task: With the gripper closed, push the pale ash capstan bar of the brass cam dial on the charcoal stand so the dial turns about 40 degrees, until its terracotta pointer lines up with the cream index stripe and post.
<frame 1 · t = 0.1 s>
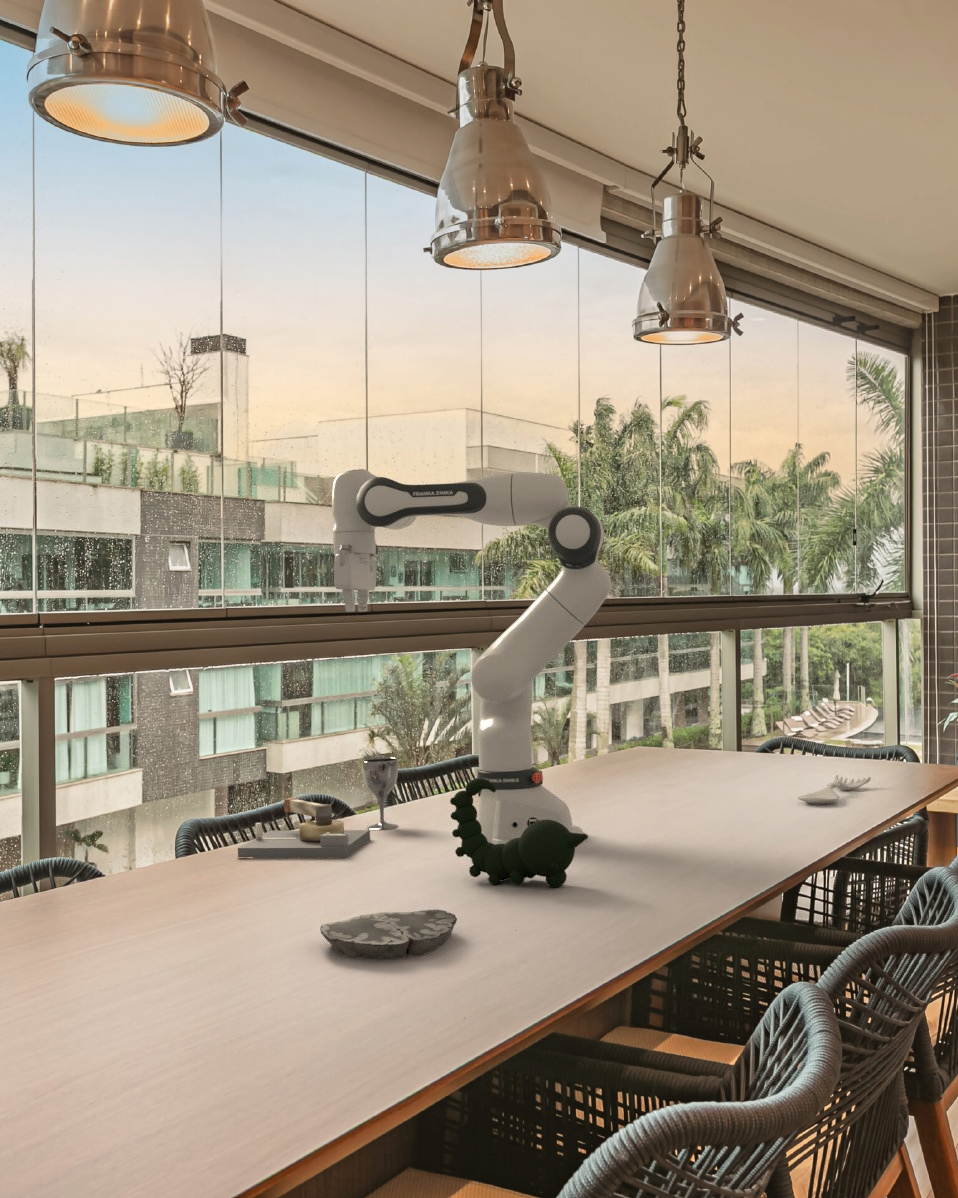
hand: (356, 611, 240), 48 cm above the table, fingers open, 8 cm apart
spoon: (833, 798, 269), on the table
toy figurine: (521, 884, 193), on the table
wine glass: (382, 828, 251), on the table
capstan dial: (310, 818, 233), point 6 cm above the table, hinge at -40.0°
brain slice: (394, 949, 159), on the table
stand: (306, 848, 230), on the table
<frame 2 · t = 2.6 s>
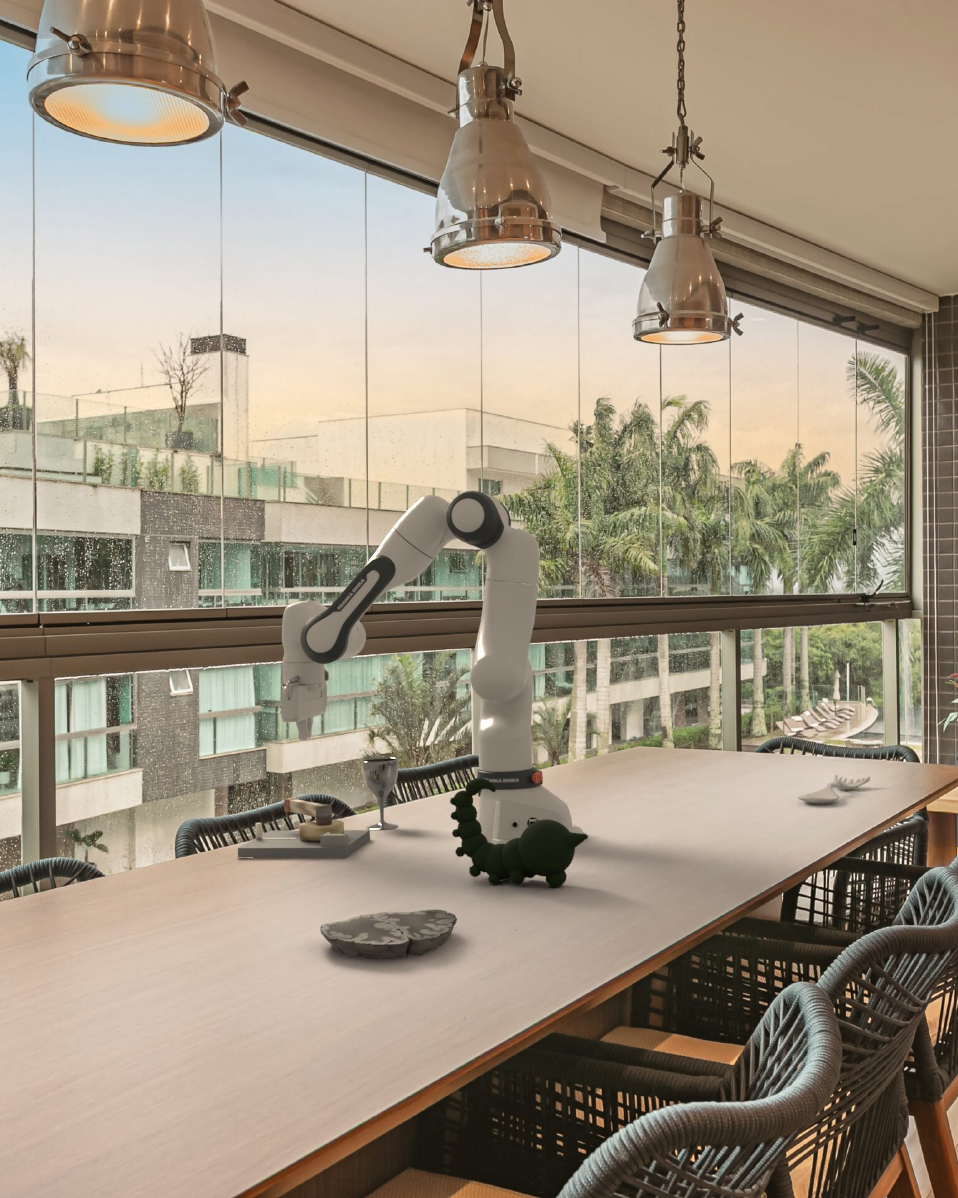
hand: (305, 739, 245), 21 cm above the table, fingers closed
nothing on the table moved.
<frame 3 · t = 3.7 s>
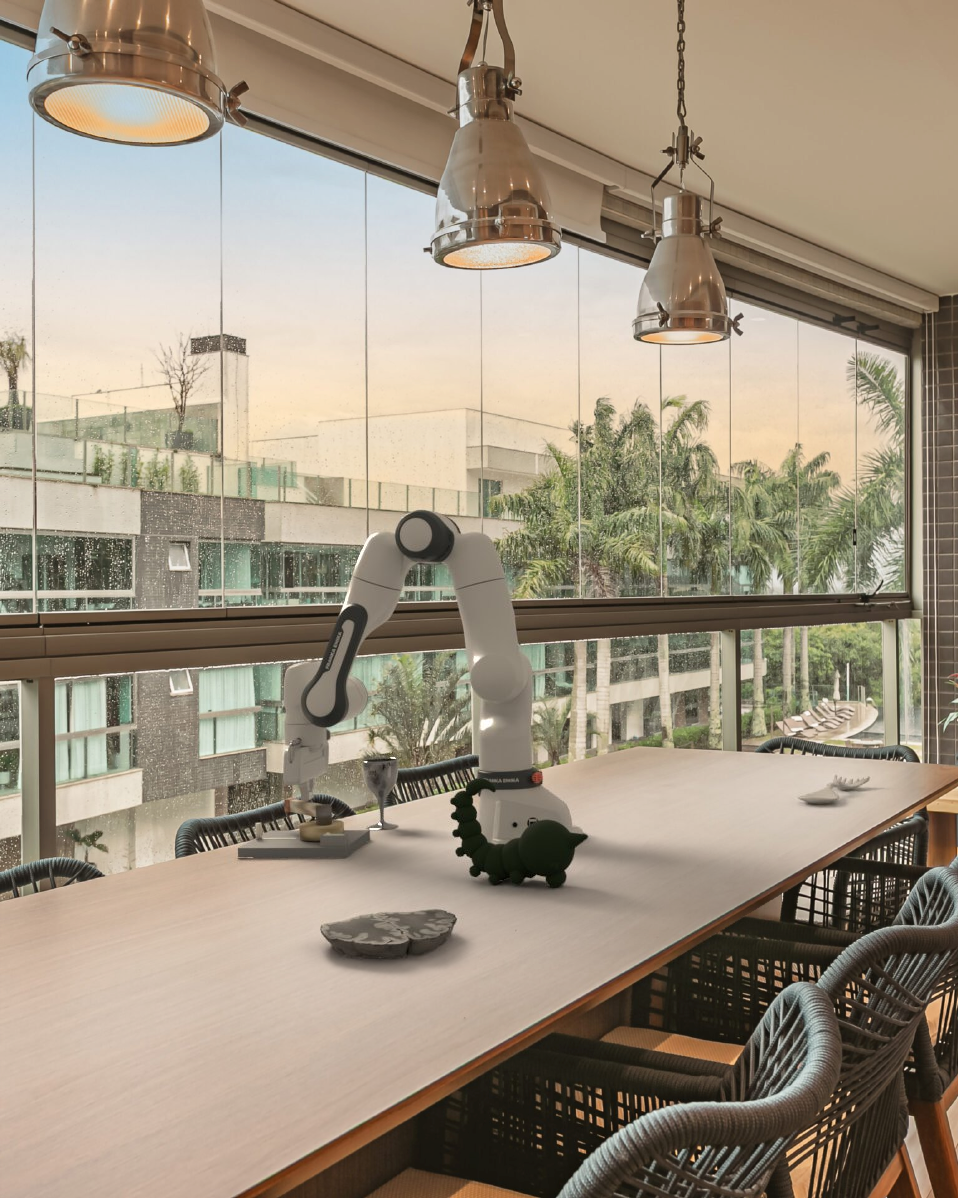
hand: (307, 800, 244), 8 cm above the table, fingers closed
nothing on the table moved.
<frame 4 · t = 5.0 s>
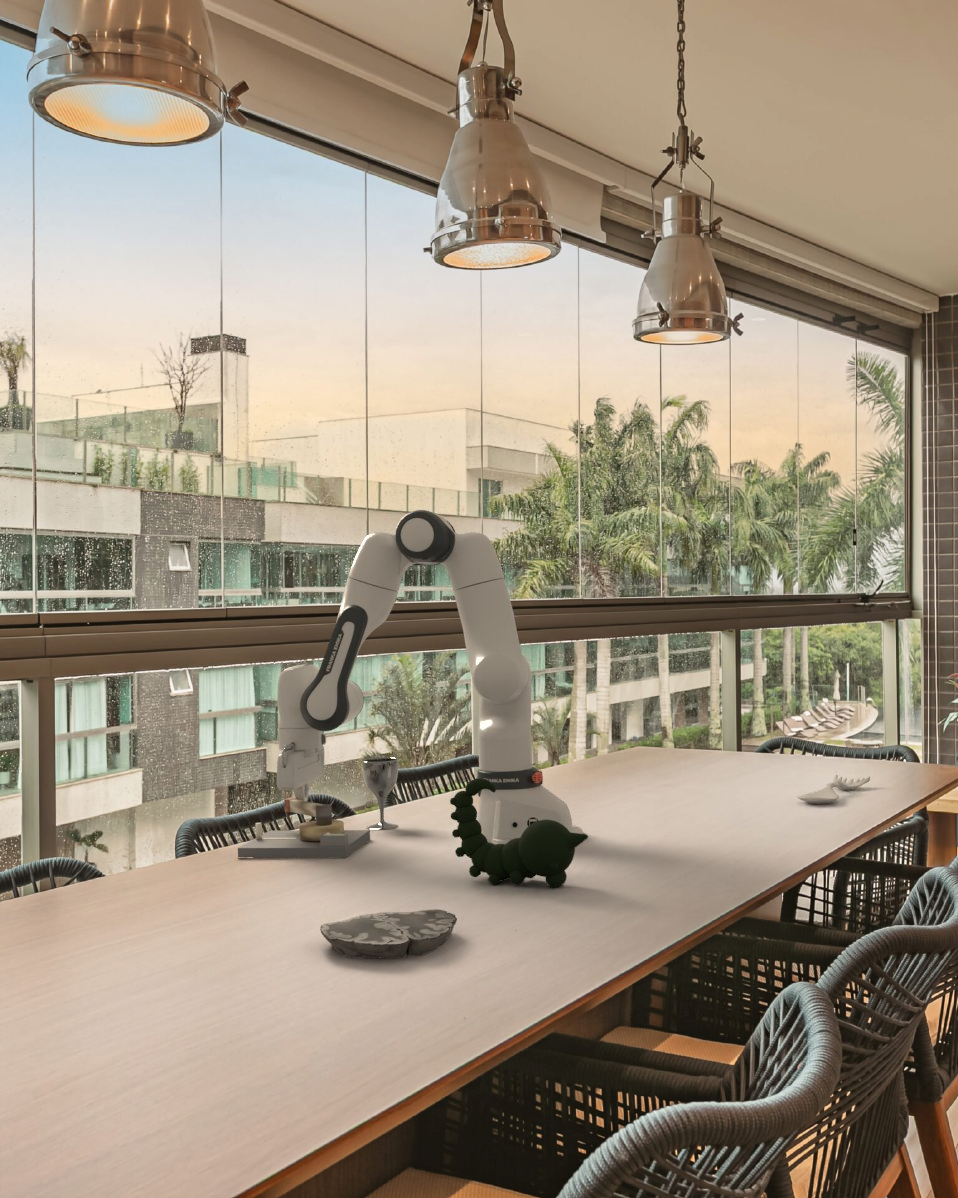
hand: (302, 805, 240), 7 cm above the table, fingers closed
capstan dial: (310, 818, 233), point 6 cm above the table, hinge at -39.9°, touching gripper
everything else where it was.
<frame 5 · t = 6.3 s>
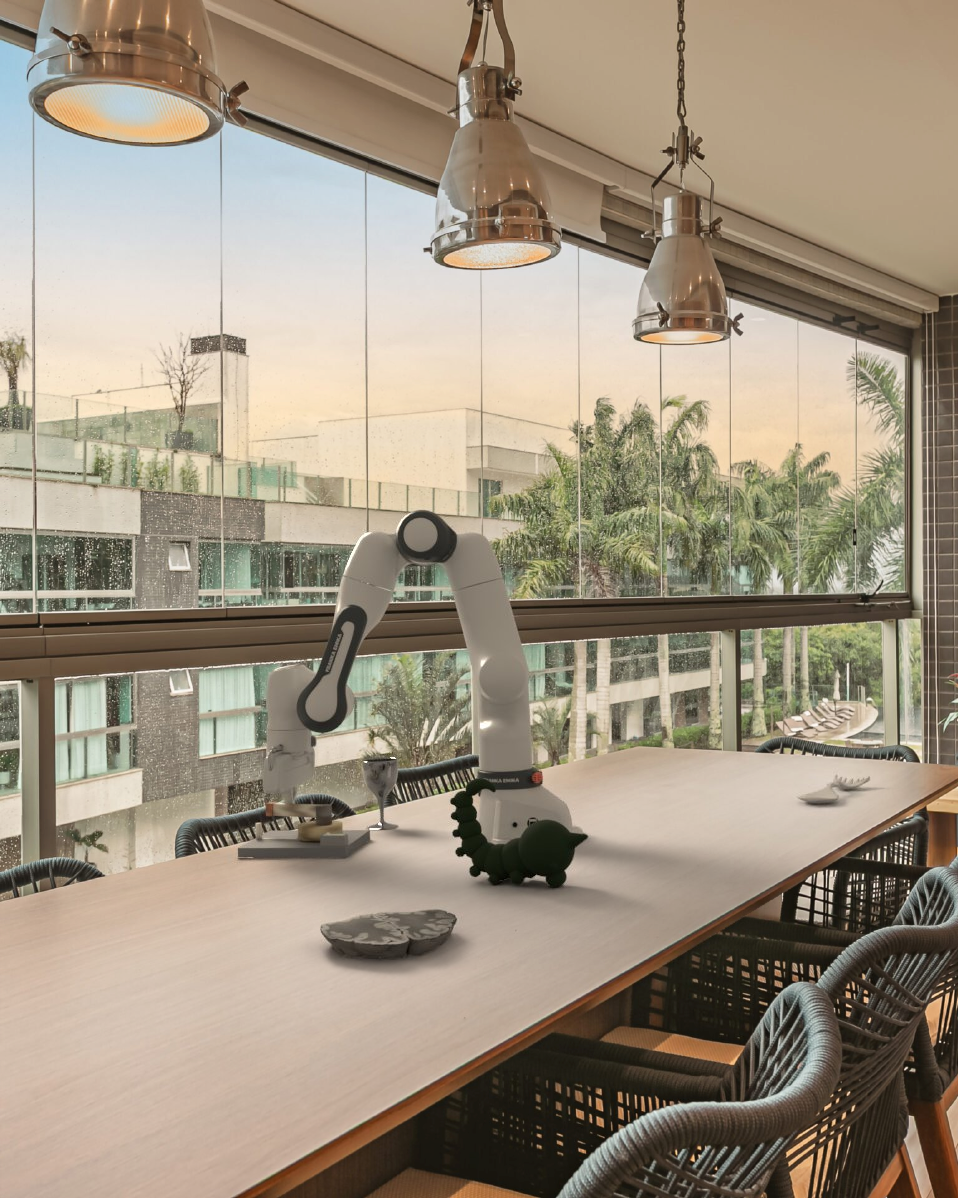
hand: (289, 809, 235), 7 cm above the table, fingers closed, pressing on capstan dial
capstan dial: (303, 820, 231), point 6 cm above the table, hinge at -16.2°, touching gripper
everything else where it was.
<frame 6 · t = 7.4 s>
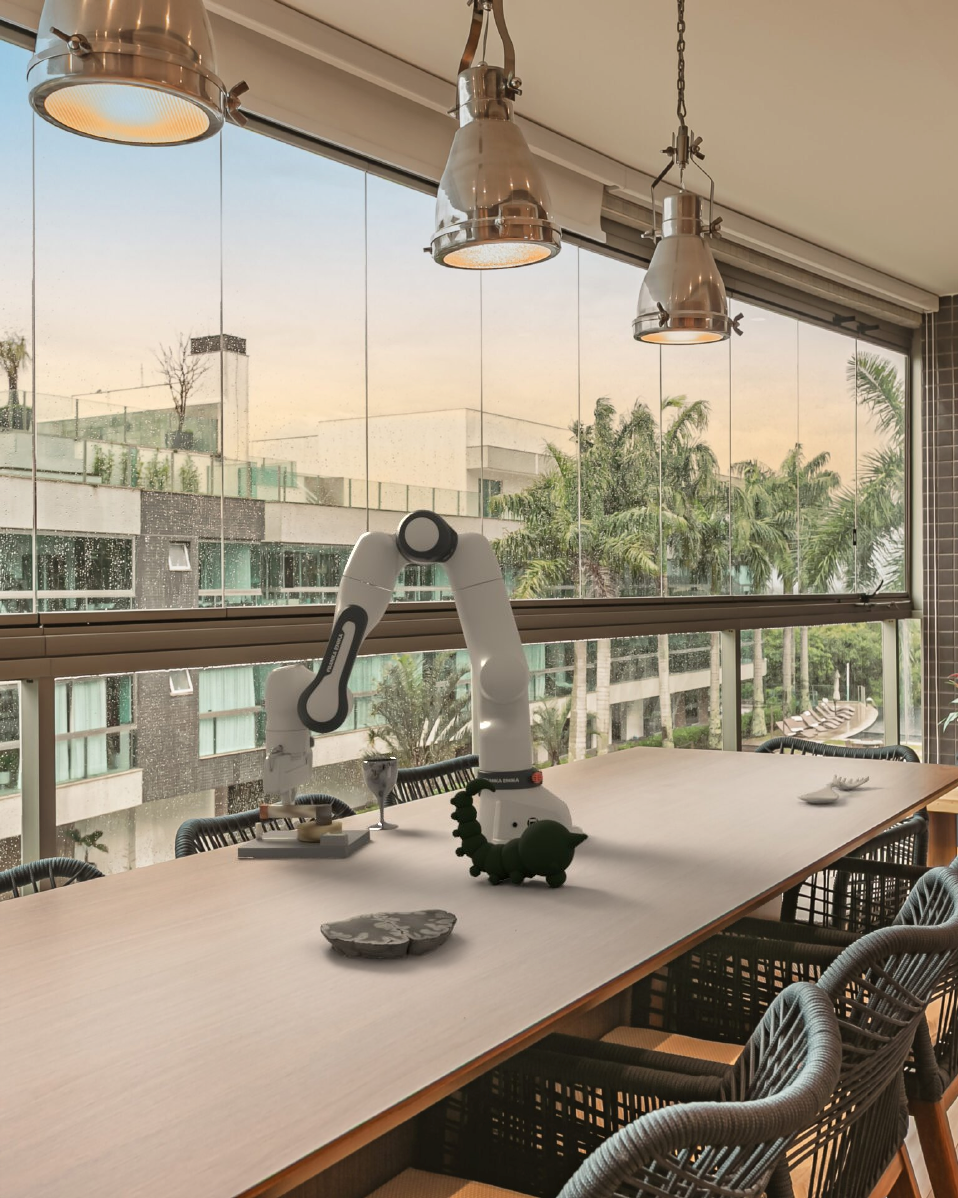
hand: (288, 810, 233), 7 cm above the table, fingers closed
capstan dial: (300, 821, 230), point 6 cm above the table, hinge at -4.5°
everything else where it was.
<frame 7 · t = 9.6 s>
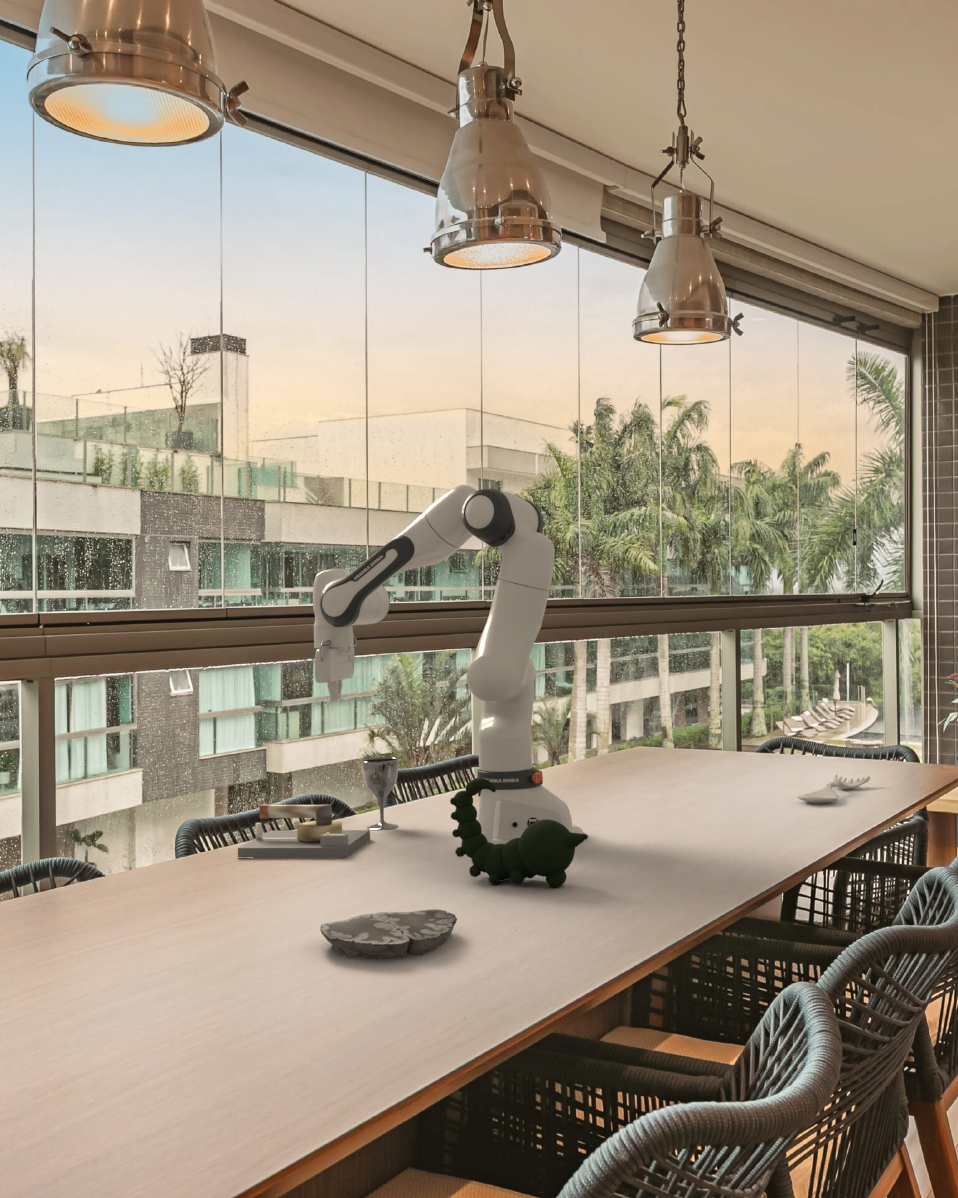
hand: (335, 700, 257), 28 cm above the table, fingers closed
nothing on the table moved.
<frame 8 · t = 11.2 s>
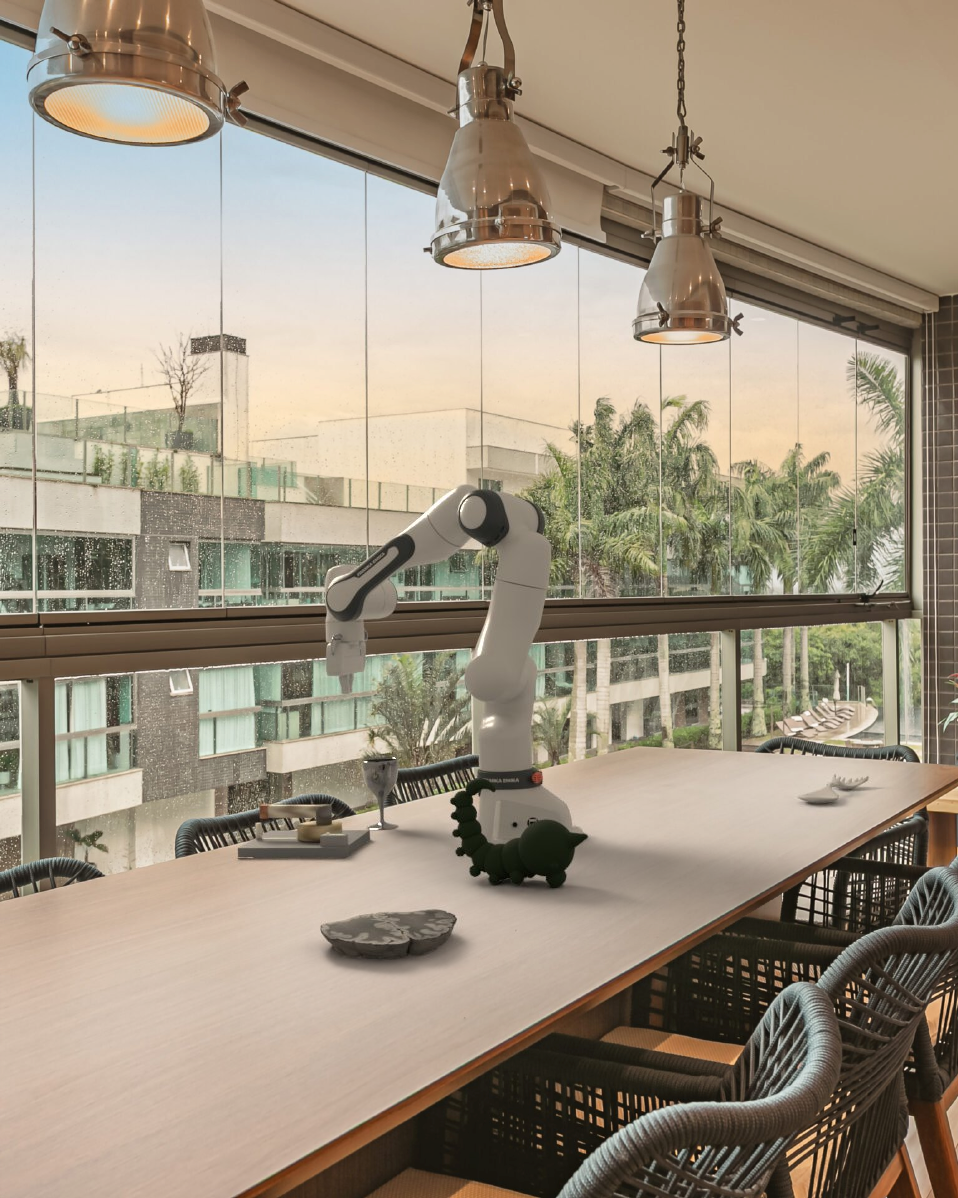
hand: (346, 693, 263), 29 cm above the table, fingers closed
at the end: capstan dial at -4° (first picture: -40°) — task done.
